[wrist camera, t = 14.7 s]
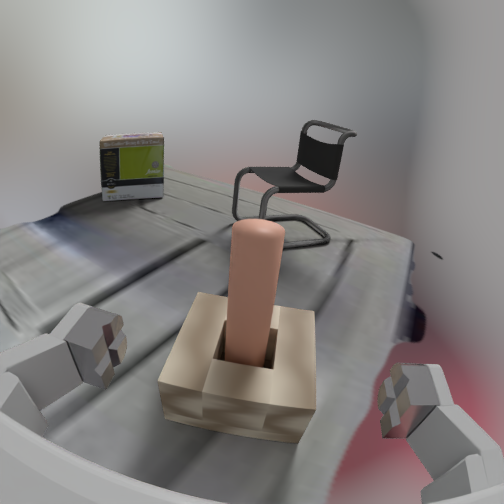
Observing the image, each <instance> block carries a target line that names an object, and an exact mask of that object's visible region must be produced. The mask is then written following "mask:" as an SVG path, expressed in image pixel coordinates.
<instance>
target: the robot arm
mask: <svg viewBox="0 0 504 504" xmlns="http://www.w3.org/2000/svg"><path fill="white" fill-rule="evenodd" d="M123 325H124V324H123V320H122V316H120V315H118V314H114V313H111V312H108V311H105V310H102V309H98V308H95V307H92V306H88V305H85V304H83V303H77V304H75V305H74V306H73V307H72V308H71V309H70V311H69V312H68V313H67V314H66V315H65V316H64V318H63V319H62V320H61V321H60V322H59V324H58V325H57V326H56V327H55V328H54V330H53V331H52V332H51V333H50V335H49V334H47V333H45V334H43V335H41V336H38V337H36V338H34V339H31V340H29V341H26V342H24V343H22V344H19V345H17V346H15V347H12V348H10V349H8V350H5V351H3V352H0V504H229V503H223V502H218V501H213V500H208V499H203V498H199V497H195V496H190V495H186V494H182V493H179V492H175V491H171V490H168V489H164V488H161V487H158V486H154V485H151V484H148V483H145V482H142V481H139V480H136V479H133V478H131V477H128V476H125V475H122V474H120V473H117V472H115V471H112V470H110V469H107V468H105V467H102V466H100V465H98V464H95V463H93V462H91V461H89V460H86V459H84V458H82V457H80V456H78V455H76V454H74V453H72V452H69V451H67V450H65V449H64V448H62V447H60V446H58V445H56V444H54V443H52V442H50V441H48V440H47V439H45V438H43V435H44V433H45V431H46V429H47V427H48V422H47V420H46V419H45V418H44V416H43V415H42V413H41V412H40V410H42V409H44V408H45V407H47V406H48V405H50V404H51V403H53V402H55V401H56V400H58V399H59V398H61V397H62V396H64V395H65V394H67V393H68V392H70V391H72V390H73V389H75V388H76V387H78V386H79V385H81V384H82V383H83V382H85V383H88V384H90V385H93V386H96V387H99V388H102V389H105V390H106V389H107V387H108V385H109V384H110V382H111V380H112V378H113V376H114V375H115V373H114V369H113V367H115V366H117V365H119V364H121V362H122V360H123V358H124V356H125V353H126V349H127V340H126V335H125V334H124V333H123V332H122V330H121V328H122V327H123ZM390 374H391V377H389V378H387V379H385V380H384V381H383V383H382V385H381V386H380V389H379V393H378V409H379V410H380V411H381V412H382V413H383V414H384V415H383V417H382V418H381V420H380V423H381V431H382V438H407V439H406V441H407V442H408V443H409V445H410V446H411V448H412V449H413V450H414V452H415V454H416V455H417V456H418V458H419V459H420V461H421V462H422V464H423V465H424V466H425V468H426V469H427V471H428V472H429V474H430V475H431V477H432V478H433V480H434V481H433V482H432V483H430V484H429V485H427V486H426V487H424V488H423V489H422V490H421V498H422V499H421V500H422V504H504V458H503V455H502V451H501V448H500V447H499V446H498V445H497V443H496V442H495V441H494V440H493V439H492V438H491V437H490V436H488V434H487V433H486V432H485V431H484V430H483V429H482V428H481V427H480V426H479V425H478V424H477V423H476V422H474V420H473V419H472V418H471V417H470V416H469V415H468V414H467V413H465V411H464V410H463V409H462V408H460V407H459V406H458V405H454V403H453V400H452V397H451V394H450V391H449V388H448V385H447V382H446V379H445V376H444V373H443V371H442V368H441V367H440V366H439V365H434V364H411V363H396V364H395V365H393V367H392V368H391V370H390Z"/></svg>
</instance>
